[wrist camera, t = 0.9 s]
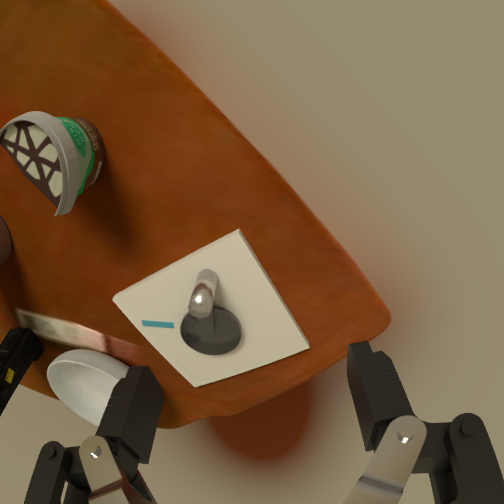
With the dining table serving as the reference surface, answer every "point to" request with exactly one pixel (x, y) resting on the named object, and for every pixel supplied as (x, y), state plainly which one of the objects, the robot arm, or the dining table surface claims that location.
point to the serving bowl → (85, 381)
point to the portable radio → (16, 360)
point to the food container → (55, 154)
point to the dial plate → (226, 296)
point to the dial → (209, 320)
